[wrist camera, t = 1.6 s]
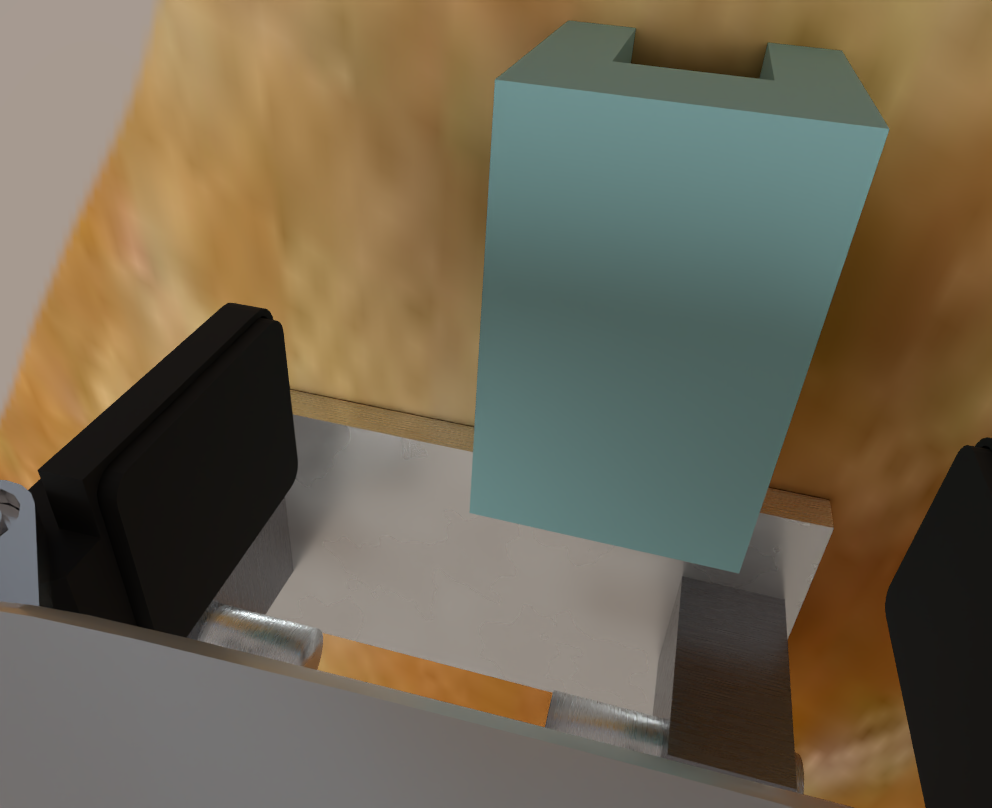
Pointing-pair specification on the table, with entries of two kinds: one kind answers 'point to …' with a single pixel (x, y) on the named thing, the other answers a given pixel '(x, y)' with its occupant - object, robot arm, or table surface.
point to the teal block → (658, 285)
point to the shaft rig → (525, 596)
